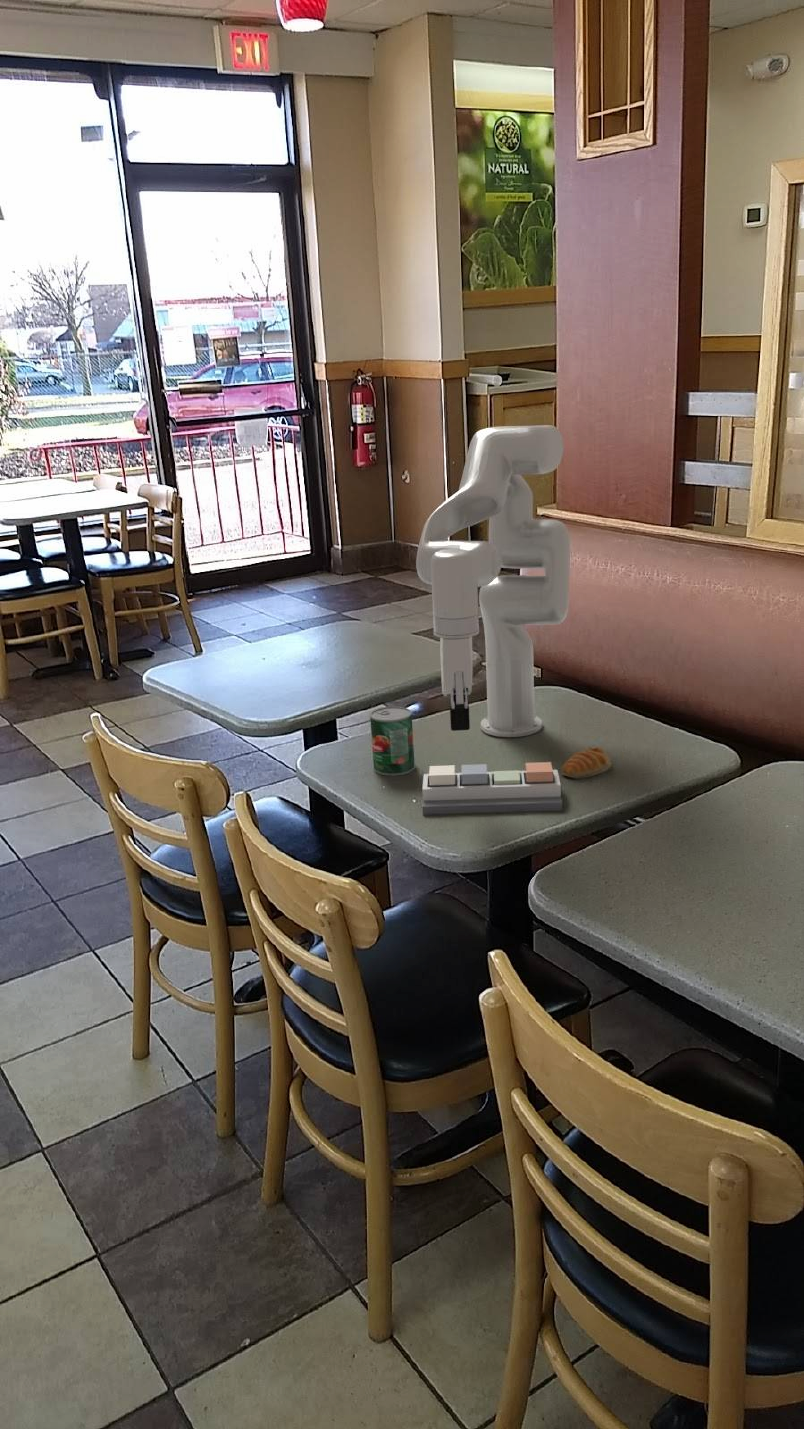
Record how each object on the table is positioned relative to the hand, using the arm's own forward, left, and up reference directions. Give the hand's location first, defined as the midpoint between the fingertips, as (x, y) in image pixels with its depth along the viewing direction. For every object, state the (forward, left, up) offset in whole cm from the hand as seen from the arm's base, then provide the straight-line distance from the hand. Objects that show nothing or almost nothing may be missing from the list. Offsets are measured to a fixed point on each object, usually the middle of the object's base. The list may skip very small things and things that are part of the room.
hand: (460, 728), depth 189 cm
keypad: (0, +5, -13) cm, 14 cm away
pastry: (-12, +23, -14) cm, 29 cm away
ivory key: (0, -3, -10) cm, 10 cm away
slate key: (0, +2, -9) cm, 10 cm away
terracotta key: (0, +13, -10) cm, 16 cm away
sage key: (0, +8, -11) cm, 13 cm away
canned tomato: (-16, -13, -14) cm, 25 cm away
